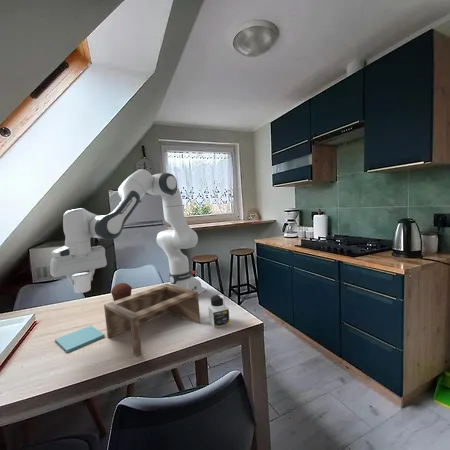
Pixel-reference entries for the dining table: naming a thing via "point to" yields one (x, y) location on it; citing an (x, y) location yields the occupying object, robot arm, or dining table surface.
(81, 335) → the mat
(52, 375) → the dining table surface
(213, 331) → the dining table surface
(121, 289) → the muffin
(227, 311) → the medicine bottle
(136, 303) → the box
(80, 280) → the shot glass
